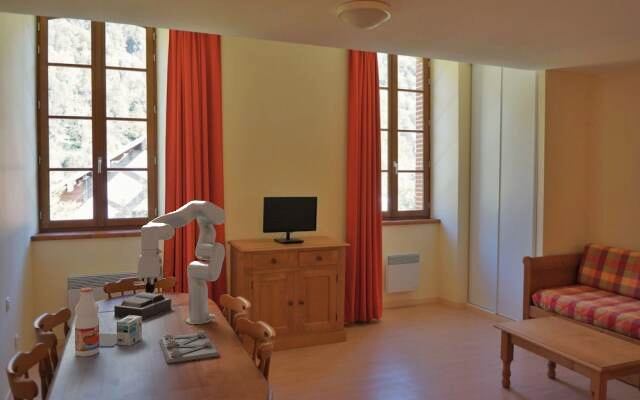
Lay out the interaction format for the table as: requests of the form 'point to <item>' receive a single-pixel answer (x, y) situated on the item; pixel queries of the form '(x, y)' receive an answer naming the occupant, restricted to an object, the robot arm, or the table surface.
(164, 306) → the dark grey open box
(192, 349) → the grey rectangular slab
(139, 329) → the light bulb box
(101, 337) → the mat
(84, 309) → the fruit juice
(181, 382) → the table surface
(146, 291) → the robot arm
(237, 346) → the table surface
